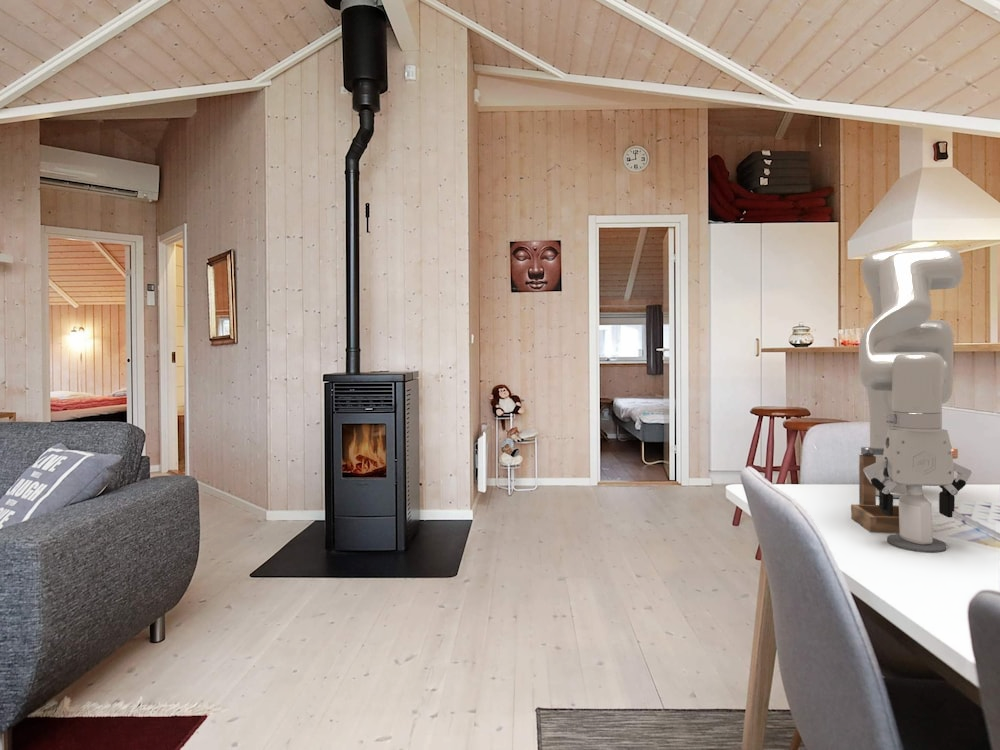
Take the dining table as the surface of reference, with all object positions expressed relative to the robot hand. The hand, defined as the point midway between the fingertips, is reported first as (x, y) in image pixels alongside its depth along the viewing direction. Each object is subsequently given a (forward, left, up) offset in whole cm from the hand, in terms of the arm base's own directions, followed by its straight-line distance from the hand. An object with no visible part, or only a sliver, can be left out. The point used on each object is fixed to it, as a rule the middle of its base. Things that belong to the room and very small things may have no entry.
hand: (916, 514), depth 111 cm
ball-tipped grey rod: (-21, +8, +7) cm, 23 cm away
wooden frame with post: (-15, 0, -6) cm, 16 cm away
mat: (0, 0, -5) cm, 5 cm away
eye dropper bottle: (0, 0, -5) cm, 5 cm away
